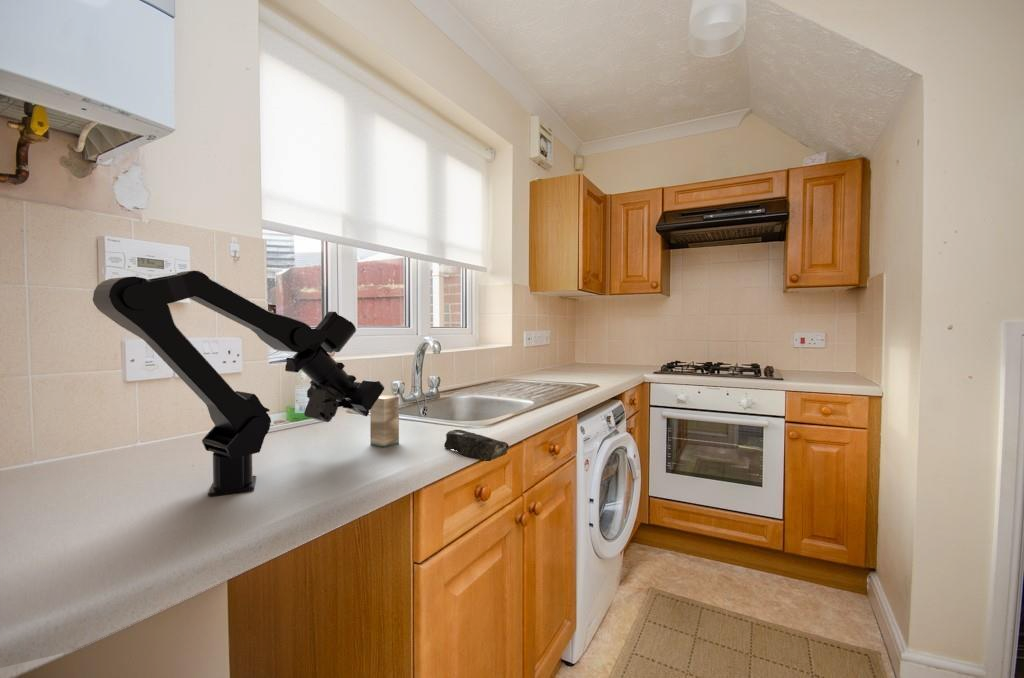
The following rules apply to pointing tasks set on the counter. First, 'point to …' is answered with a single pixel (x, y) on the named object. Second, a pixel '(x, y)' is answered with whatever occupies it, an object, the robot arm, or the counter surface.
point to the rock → (475, 445)
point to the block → (384, 421)
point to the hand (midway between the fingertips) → (366, 414)
